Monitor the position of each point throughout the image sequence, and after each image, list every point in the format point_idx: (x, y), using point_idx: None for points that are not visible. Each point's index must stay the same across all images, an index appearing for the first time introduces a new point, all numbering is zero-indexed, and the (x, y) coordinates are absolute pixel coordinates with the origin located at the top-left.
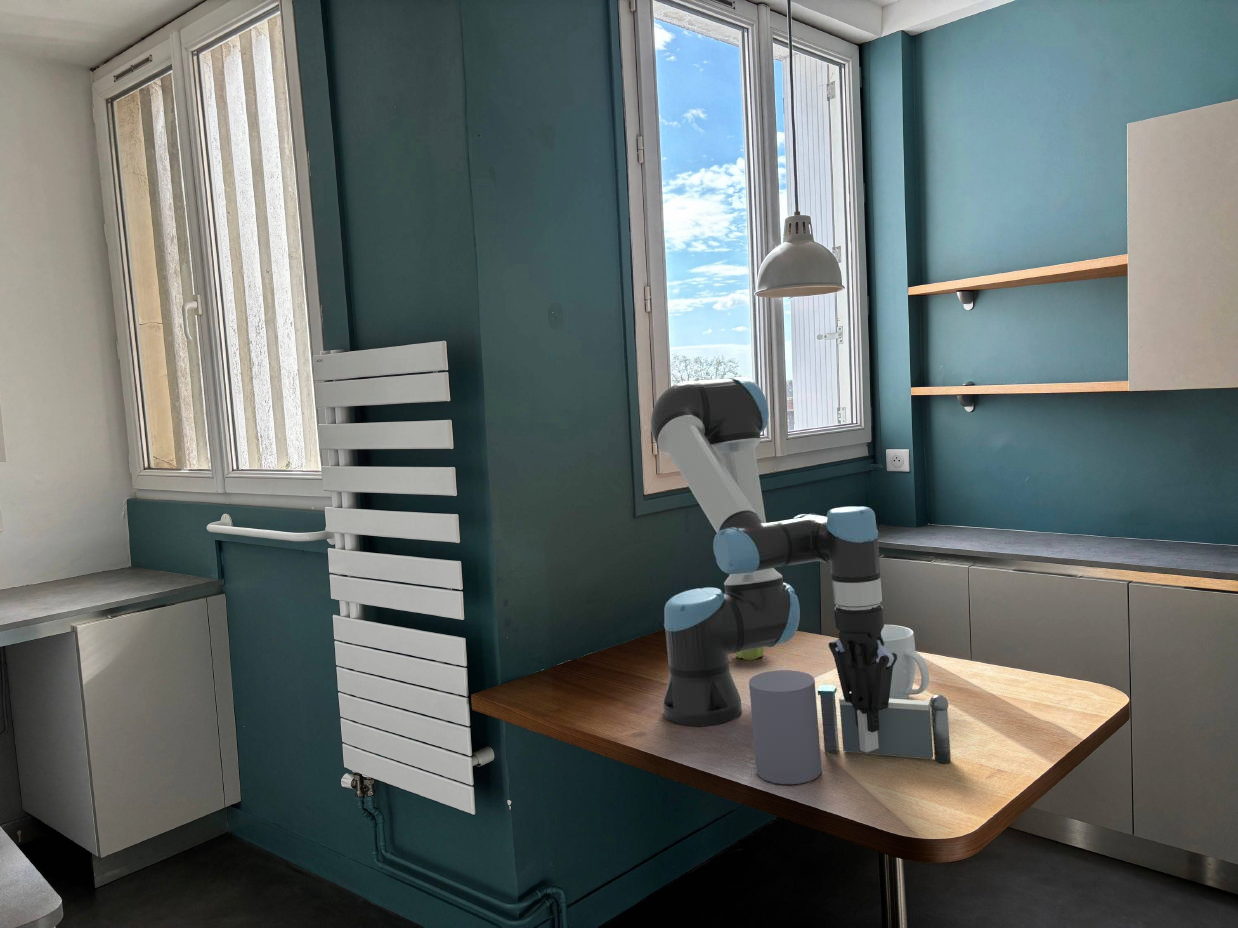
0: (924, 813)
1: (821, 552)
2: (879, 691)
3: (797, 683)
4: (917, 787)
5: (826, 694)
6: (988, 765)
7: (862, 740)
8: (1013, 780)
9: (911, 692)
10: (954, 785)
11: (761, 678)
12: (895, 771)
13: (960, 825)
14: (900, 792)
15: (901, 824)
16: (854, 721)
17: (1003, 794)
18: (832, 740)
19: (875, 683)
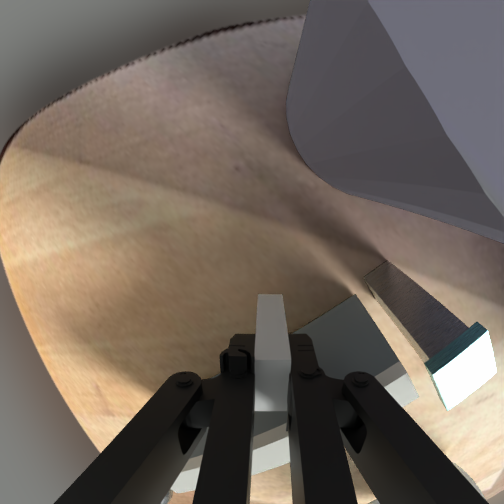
0: (44, 207)
1: None
2: (119, 435)
3: (481, 8)
4: (116, 280)
5: (451, 346)
6: (129, 418)
7: (270, 307)
8: (76, 395)
9: (377, 500)
10: (93, 332)
11: None
12: (198, 306)
13: (5, 223)
14: (117, 236)
15: (41, 145)
16: (343, 355)
17: (47, 350)
18: (381, 284)
19: (128, 466)
